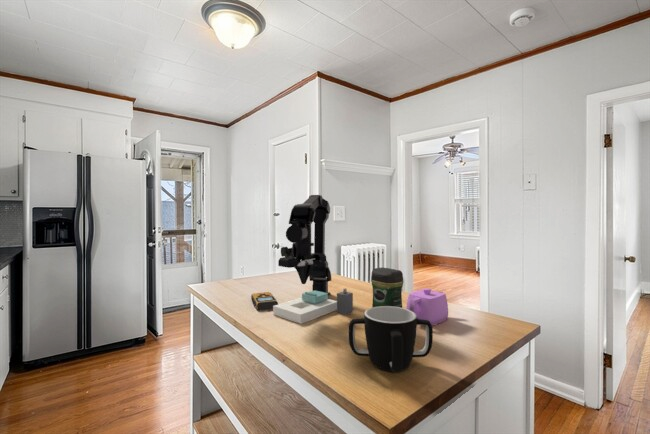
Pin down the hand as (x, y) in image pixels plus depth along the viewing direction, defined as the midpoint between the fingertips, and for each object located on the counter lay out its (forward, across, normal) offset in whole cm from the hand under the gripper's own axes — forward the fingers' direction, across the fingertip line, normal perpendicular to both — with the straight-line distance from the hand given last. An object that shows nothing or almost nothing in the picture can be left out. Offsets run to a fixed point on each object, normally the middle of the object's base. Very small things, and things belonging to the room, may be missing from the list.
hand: (303, 283), depth 111 cm
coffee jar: (+11, -7, +30) cm, 32 cm away
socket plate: (+10, -2, 0) cm, 11 cm away
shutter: (+7, -6, 0) cm, 9 cm away
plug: (+10, -10, +11) cm, 18 cm away
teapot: (+11, -23, +36) cm, 44 cm away
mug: (+11, +12, +42) cm, 45 cm away
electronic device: (+11, +2, -20) cm, 23 cm away
